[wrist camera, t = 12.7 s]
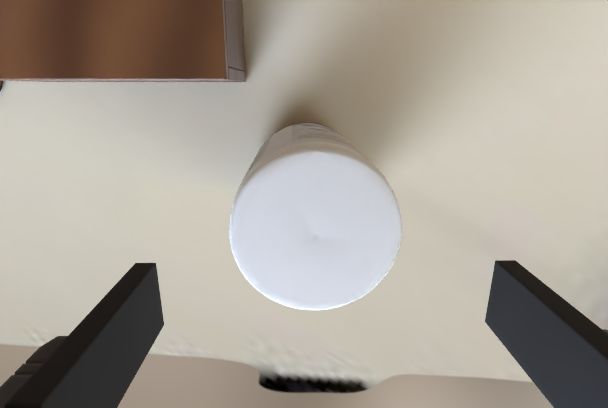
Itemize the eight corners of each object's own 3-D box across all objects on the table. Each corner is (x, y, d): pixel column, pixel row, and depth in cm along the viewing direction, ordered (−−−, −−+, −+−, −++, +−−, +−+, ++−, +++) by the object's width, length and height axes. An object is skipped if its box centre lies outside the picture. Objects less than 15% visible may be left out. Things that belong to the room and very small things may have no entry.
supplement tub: (290, 242, 35) (286, 344, 21) (232, 159, 33) (184, 213, 19) (378, 189, 34) (437, 261, 20) (325, 98, 31) (348, 108, 17)
